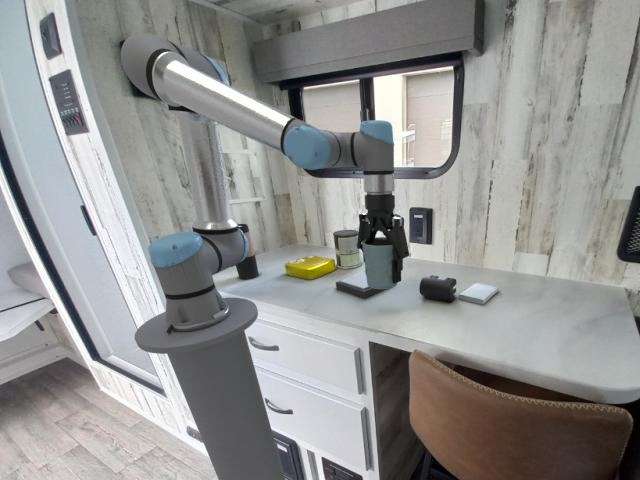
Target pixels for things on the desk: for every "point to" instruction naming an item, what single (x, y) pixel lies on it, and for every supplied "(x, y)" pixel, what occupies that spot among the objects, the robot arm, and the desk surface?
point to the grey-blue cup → (378, 263)
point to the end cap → (438, 288)
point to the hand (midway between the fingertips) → (383, 277)
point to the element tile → (310, 267)
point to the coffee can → (347, 249)
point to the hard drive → (478, 293)
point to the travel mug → (247, 258)
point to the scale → (357, 286)
